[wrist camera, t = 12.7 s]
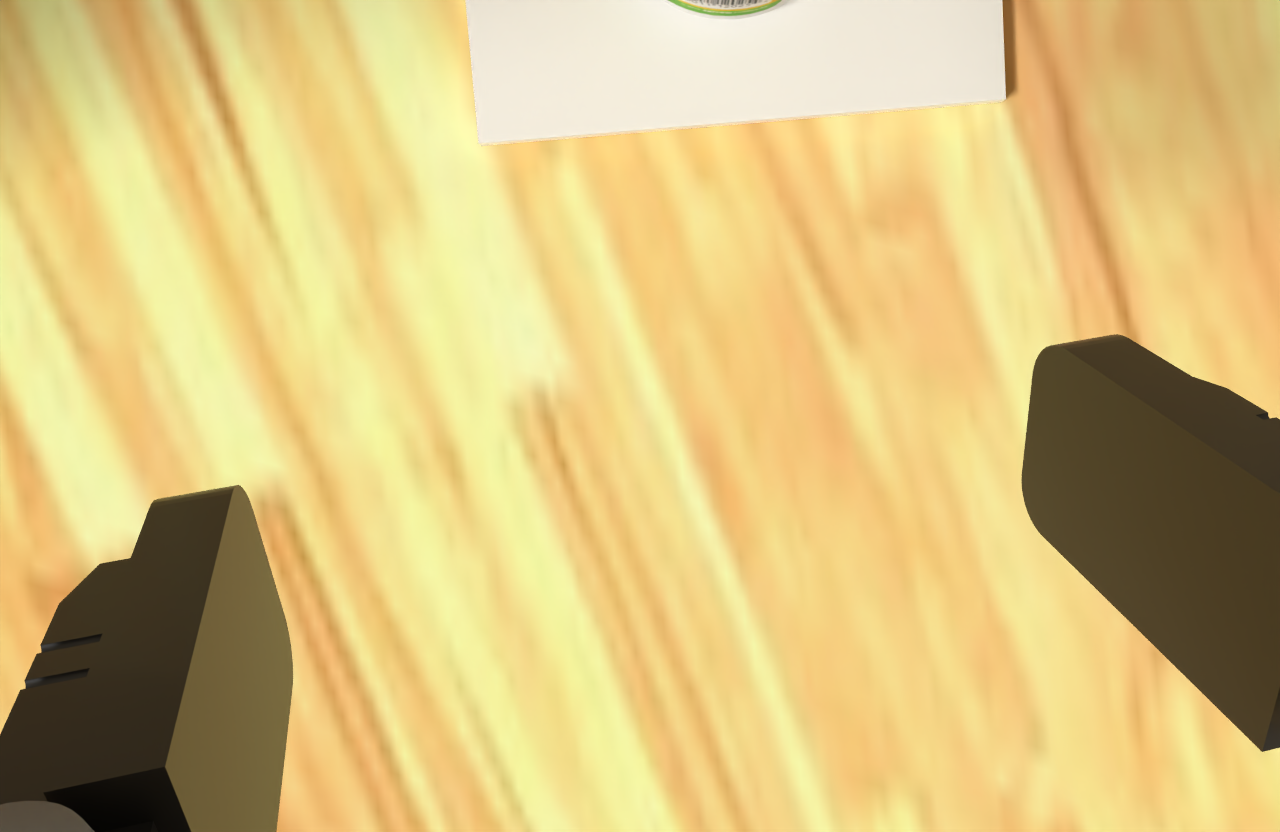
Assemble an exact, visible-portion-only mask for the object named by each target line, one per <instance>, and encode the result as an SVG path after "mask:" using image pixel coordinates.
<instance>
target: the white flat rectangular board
mask: <svg viewBox="0 0 1280 832" xmlns="http://www.w3.org/2000/svg"><path fill="white" fill-rule="evenodd" d="M466 11H467V22H468V33H469V44H470V55H471V66H472V77H473V88H474V98H475V109H476V120H477V131H478V142H479V144H480V145H481V146H487V145H499V144H511V143H523V142H535V141H547V140H559V139H570V138H582V137H594V136H606V135H618V134H630V133H642V132H654V131H666V130H678V129H690V128H702V127H714V126H726V125H737V124H749V123H761V122H773V121H785V120H797V119H809V118H821V117H833V116H845V115H857V114H869V113H881V112H893V111H905V110H916V109H928V108H940V107H952V106H964V105H976V104H988V103H1000V102H1002V101H1004V100H1005V99H1006V88H1005V60H1004V33H1003V5H1002V0H790V1H788V2H787V3H785V4H783V5H782V6H780V7H778V8H776V9H773V10H771V11H769V12H766V13H763V14H760V15H757V16H752V17H748V18H742V19H711V18H705V17H700V16H697V15H693V14H690V13H687V12H684V11H682V10H680V9H678V8H675V7H673V6H672V5H670V4H668V3H666V2H665V1H663V0H466Z"/></svg>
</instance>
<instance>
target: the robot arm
mask: <svg viewBox="0 0 1280 832" xmlns="http://www.w3.org/2000/svg"><path fill="white" fill-rule="evenodd" d="M1022 491H1023V497H1024V502H1025V505H1026V508H1027V511H1028V514H1029V516H1030V518H1031V520H1032V522H1033V524H1034V526H1035V527H1036V529H1037V530H1038V531H1039V533H1040V534H1041V535H1042V536H1043V537H1044V538H1045V539H1046V540H1047V541H1048V542H1049V543H1050V544H1051V545H1052V546H1053V547H1054V548H1055V549H1056V550H1057V551H1058V552H1059V553H1060V554H1061V555H1062V556H1063V557H1064V558H1065V559H1066V560H1067V561H1068V562H1069V563H1071V564H1072V565H1073V566H1074V567H1075V568H1076V569H1077V570H1078V571H1079V572H1080V573H1081V574H1082V575H1083V576H1084V577H1085V578H1086V579H1087V580H1088V581H1089V582H1090V583H1091V584H1092V585H1093V586H1094V587H1095V588H1096V589H1097V590H1098V591H1099V592H1100V593H1101V594H1102V595H1103V596H1104V597H1105V598H1106V599H1107V600H1108V601H1109V602H1110V603H1111V604H1112V605H1113V606H1114V607H1115V608H1116V609H1117V610H1118V611H1119V612H1120V613H1121V614H1122V615H1123V616H1124V617H1125V618H1127V619H1128V620H1129V621H1130V622H1131V623H1132V624H1133V625H1134V626H1135V627H1136V628H1137V629H1138V630H1139V631H1140V632H1141V633H1142V634H1143V635H1144V636H1145V637H1146V638H1147V639H1148V640H1149V641H1150V642H1151V643H1152V644H1153V645H1154V646H1155V647H1156V648H1157V649H1158V650H1159V651H1160V652H1161V653H1162V654H1163V655H1164V656H1165V657H1166V658H1167V659H1168V660H1169V661H1170V662H1171V663H1172V664H1173V665H1174V666H1175V667H1176V668H1177V669H1178V670H1179V671H1180V672H1181V673H1182V674H1184V675H1185V676H1186V677H1187V678H1188V679H1189V680H1190V681H1191V682H1192V683H1193V684H1194V685H1195V686H1196V687H1197V688H1198V689H1199V690H1200V691H1201V692H1202V693H1203V694H1204V695H1205V696H1206V697H1207V698H1208V699H1209V700H1210V701H1211V702H1212V703H1213V704H1214V705H1215V706H1216V707H1217V708H1218V709H1219V710H1220V711H1221V712H1222V713H1223V714H1224V715H1225V716H1226V717H1227V718H1228V719H1229V720H1230V721H1231V722H1232V723H1233V724H1234V725H1235V726H1236V727H1237V728H1238V729H1240V730H1241V731H1242V732H1243V733H1244V734H1245V735H1246V736H1247V737H1248V738H1249V739H1250V740H1251V741H1252V742H1253V743H1254V744H1255V745H1256V746H1257V747H1258V748H1259V749H1260V750H1261V751H1262V752H1263V751H1267V750H1271V749H1275V748H1279V747H1280V419H1278V418H1271V419H1270V418H1269V417H1268V412H1266V411H1264V410H1263V409H1261V408H1259V407H1258V406H1256V405H1254V404H1253V403H1251V402H1249V401H1248V400H1246V399H1244V398H1243V397H1241V396H1239V395H1238V394H1236V393H1234V392H1232V391H1231V390H1229V389H1227V388H1225V387H1222V386H1219V385H1216V384H1213V383H1210V382H1207V381H1204V380H1201V379H1198V378H1195V377H1192V376H1190V375H1189V374H1187V373H1185V372H1184V371H1182V370H1180V369H1179V368H1177V367H1175V366H1174V365H1172V364H1170V363H1169V362H1167V361H1165V360H1164V359H1162V358H1160V357H1159V356H1157V355H1155V354H1154V353H1152V352H1150V351H1149V350H1147V349H1146V348H1144V347H1142V346H1141V345H1139V344H1137V343H1136V342H1134V341H1132V340H1131V339H1129V338H1127V337H1125V336H1122V335H1109V336H1103V337H1097V338H1092V339H1086V340H1080V341H1074V342H1069V343H1063V344H1057V345H1051V346H1048V347H1046V348H1045V349H1043V350H1042V351H1041V353H1040V354H1039V355H1038V357H1037V359H1036V362H1035V365H1034V370H1033V376H1032V385H1031V395H1030V404H1029V413H1028V422H1027V432H1026V441H1025V450H1024V460H1023V469H1022ZM41 649H42V652H41V653H38V654H36V657H35V659H34V661H33V663H32V665H31V668H30V670H29V672H28V674H27V677H26V679H25V684H26V689H23V690H20V692H19V694H18V697H17V699H16V701H15V703H14V705H13V708H12V710H11V712H10V714H9V717H8V719H7V721H6V723H5V725H4V728H3V730H2V732H1V734H0V832H276V830H277V821H278V812H279V803H280V794H281V785H282V776H283V767H284V758H285V750H286V741H287V732H288V723H289V714H290V705H291V696H292V686H293V662H292V651H291V644H290V637H289V632H288V627H287V623H286V619H285V615H284V612H283V609H282V605H281V602H280V599H279V595H278V592H277V589H276V585H275V582H274V579H273V575H272V572H271V569H270V565H269V562H268V559H267V555H266V552H265V549H264V545H263V542H262V539H261V535H260V532H259V529H258V525H257V522H256V519H255V515H254V512H253V509H252V506H251V503H250V501H249V498H248V496H247V494H246V492H245V491H244V489H243V488H242V487H241V486H239V485H236V486H230V487H225V488H219V489H213V490H207V491H202V492H196V493H190V494H184V495H179V496H173V497H167V498H161V499H157V500H154V501H153V502H152V504H151V506H150V508H149V511H148V513H147V516H146V519H145V521H144V524H143V527H142V529H141V532H140V535H139V537H138V540H137V543H136V545H135V548H134V551H133V554H132V556H131V558H129V559H124V560H118V561H113V562H107V563H102V564H99V565H98V566H97V567H96V568H95V569H94V570H93V571H92V572H91V573H90V574H89V575H88V576H87V577H86V578H85V579H84V580H83V581H82V582H81V583H80V584H79V585H78V586H77V587H76V588H75V589H74V590H73V591H72V592H71V593H70V594H69V595H68V596H67V597H66V598H65V599H63V600H62V601H61V602H60V603H59V605H58V608H57V610H56V612H55V614H54V616H53V619H52V621H51V623H50V625H49V628H48V630H47V632H46V634H45V636H44V639H43V641H42V643H41Z"/></svg>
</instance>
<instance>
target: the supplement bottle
mask: <svg viewBox="0 0 1280 832" xmlns="http://www.w3.org/2000/svg"><path fill="white" fill-rule="evenodd" d="M663 1H665V2H666V3H668V4H670V5H672V6H673V7H675V8H678V9H680V10H682V11H684V12H687V13H690V14H693V15H697V16H700V17H705V18H711V19H742V18H748V17H752V16H757V15H760V14H763V13H766V12H769V11H771V10H773V9H776V8H778V7H780V6H782V5H783V4H785V3H787V2H788V1H790V0H663Z"/></svg>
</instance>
